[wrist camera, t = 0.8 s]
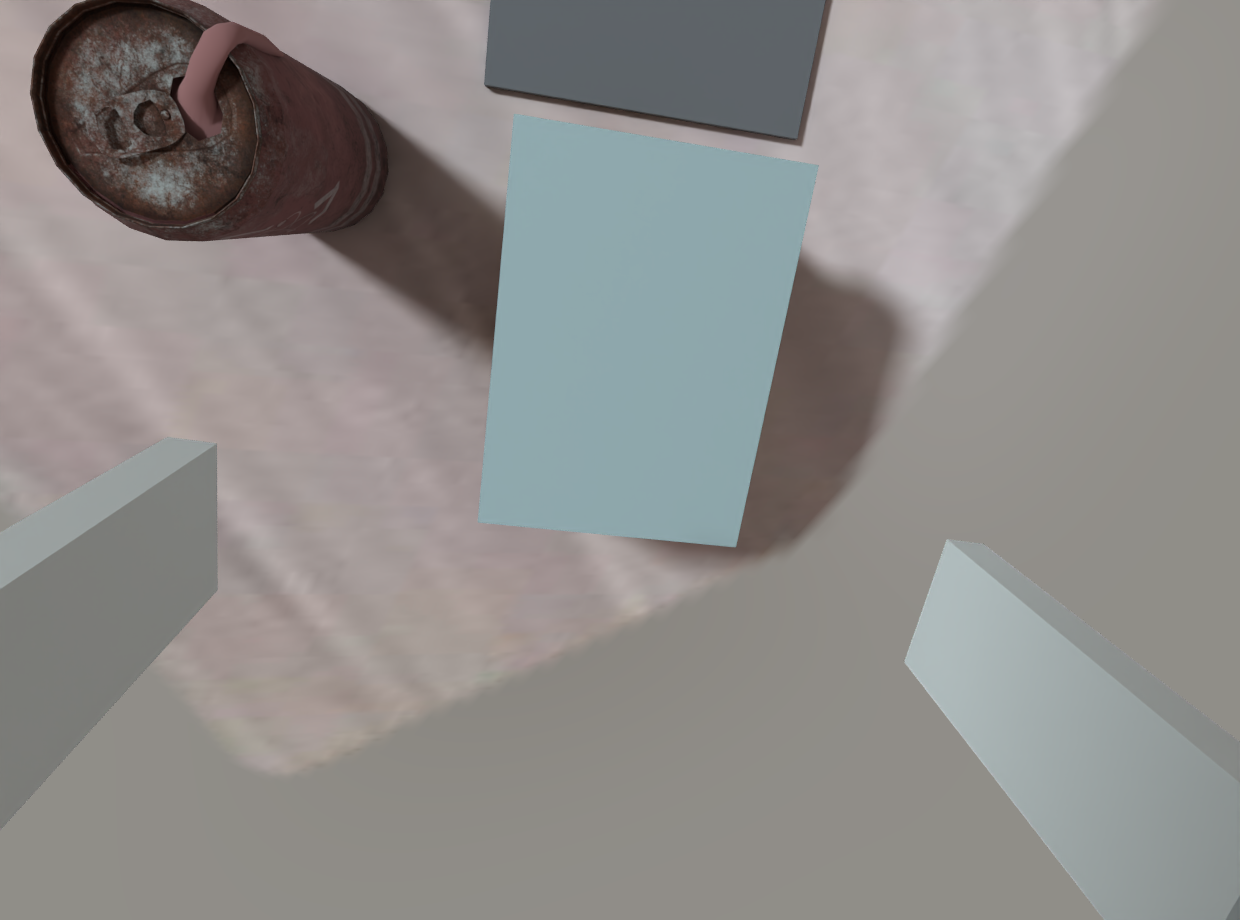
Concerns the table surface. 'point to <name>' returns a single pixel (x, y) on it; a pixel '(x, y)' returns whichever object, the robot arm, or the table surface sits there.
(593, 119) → the table surface
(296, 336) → the table surface
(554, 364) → the lid
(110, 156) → the can
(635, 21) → the mat
